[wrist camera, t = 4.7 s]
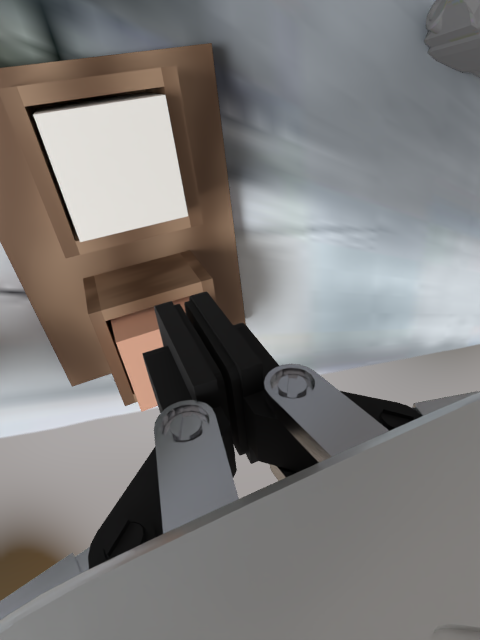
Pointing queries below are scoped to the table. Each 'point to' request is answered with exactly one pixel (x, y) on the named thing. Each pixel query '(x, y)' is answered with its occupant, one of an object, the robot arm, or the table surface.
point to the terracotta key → (139, 348)
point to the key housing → (126, 247)
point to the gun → (455, 34)
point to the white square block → (114, 162)
